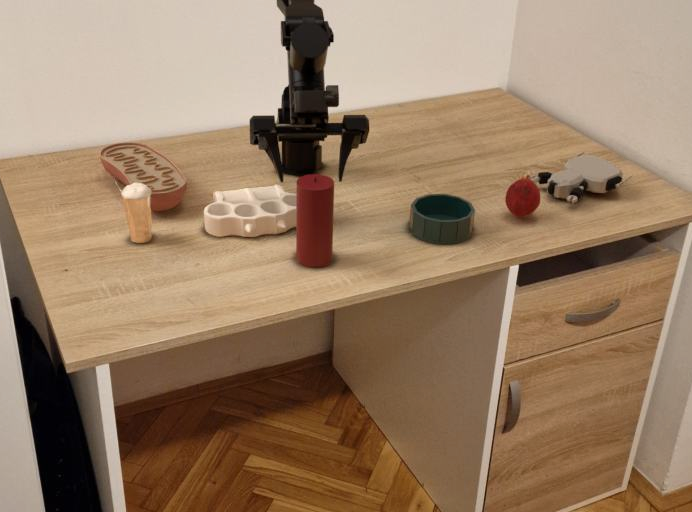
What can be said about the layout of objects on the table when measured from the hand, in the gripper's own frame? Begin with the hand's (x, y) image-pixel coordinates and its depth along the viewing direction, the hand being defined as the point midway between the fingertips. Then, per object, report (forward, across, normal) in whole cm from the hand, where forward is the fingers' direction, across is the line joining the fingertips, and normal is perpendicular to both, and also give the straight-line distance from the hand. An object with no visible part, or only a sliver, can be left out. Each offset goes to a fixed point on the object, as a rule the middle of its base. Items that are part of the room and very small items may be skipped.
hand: (311, 181), depth 147 cm
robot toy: (-3, +49, +17) cm, 52 cm away
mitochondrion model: (-5, -28, +19) cm, 34 cm away
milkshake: (+7, -28, +7) cm, 29 cm away
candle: (+12, 0, +1) cm, 12 cm away
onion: (+4, +36, +10) cm, 38 cm away
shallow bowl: (+6, +22, +7) cm, 24 cm away
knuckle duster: (+3, -9, +11) cm, 14 cm away
